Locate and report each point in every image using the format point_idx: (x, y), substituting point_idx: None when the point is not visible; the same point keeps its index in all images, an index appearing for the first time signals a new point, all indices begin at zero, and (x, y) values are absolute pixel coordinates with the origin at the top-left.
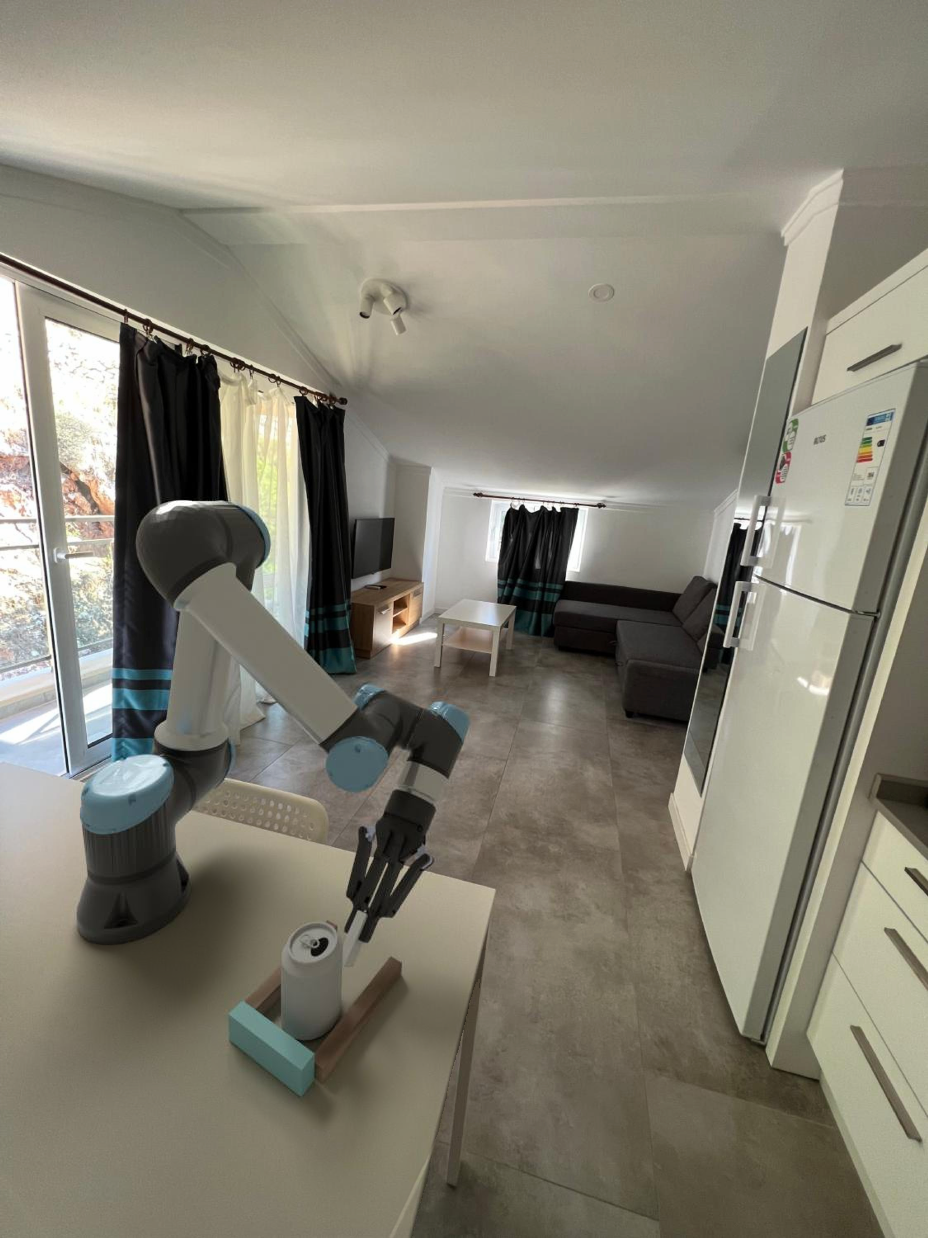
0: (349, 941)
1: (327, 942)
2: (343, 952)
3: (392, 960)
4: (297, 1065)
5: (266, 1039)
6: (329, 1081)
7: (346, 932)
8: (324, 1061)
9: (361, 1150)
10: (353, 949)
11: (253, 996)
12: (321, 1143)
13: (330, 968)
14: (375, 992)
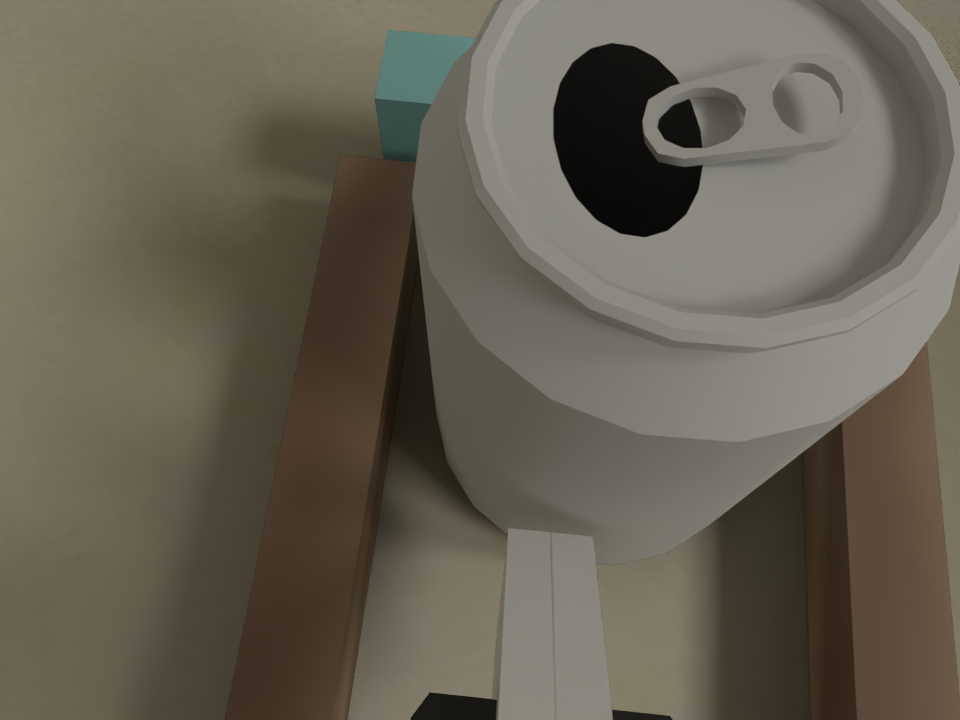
0: (553, 636)
1: (701, 486)
2: (564, 582)
3: None
4: (418, 35)
5: None
6: None
7: (642, 717)
8: (350, 177)
9: (101, 109)
10: (500, 637)
11: None
12: (250, 76)
13: (434, 109)
14: (275, 590)
